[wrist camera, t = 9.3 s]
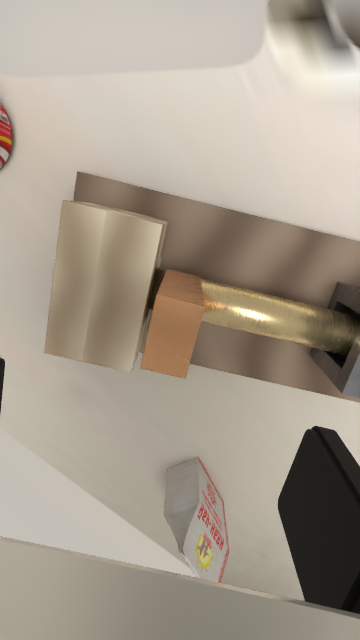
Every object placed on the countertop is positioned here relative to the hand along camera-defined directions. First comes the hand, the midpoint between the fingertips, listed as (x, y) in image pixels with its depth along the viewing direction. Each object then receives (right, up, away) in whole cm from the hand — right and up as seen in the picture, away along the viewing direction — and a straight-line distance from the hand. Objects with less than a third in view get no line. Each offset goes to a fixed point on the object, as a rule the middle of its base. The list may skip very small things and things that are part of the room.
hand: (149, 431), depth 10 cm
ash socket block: (-4, +8, +19) cm, 21 cm away
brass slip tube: (+7, +4, +18) cm, 19 cm away
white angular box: (+3, -15, +28) cm, 32 cm away
